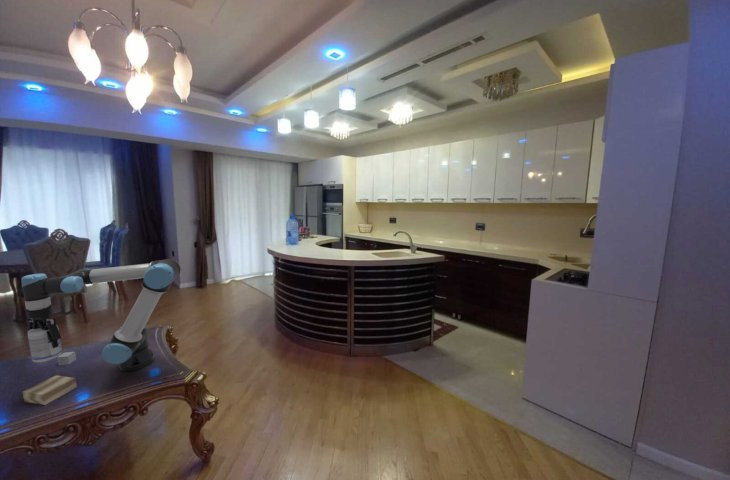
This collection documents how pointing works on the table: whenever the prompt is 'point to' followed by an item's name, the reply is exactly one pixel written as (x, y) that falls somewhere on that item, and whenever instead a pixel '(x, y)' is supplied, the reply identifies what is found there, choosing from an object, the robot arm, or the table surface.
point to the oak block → (49, 390)
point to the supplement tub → (41, 345)
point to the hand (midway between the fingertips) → (47, 352)
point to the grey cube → (66, 358)
